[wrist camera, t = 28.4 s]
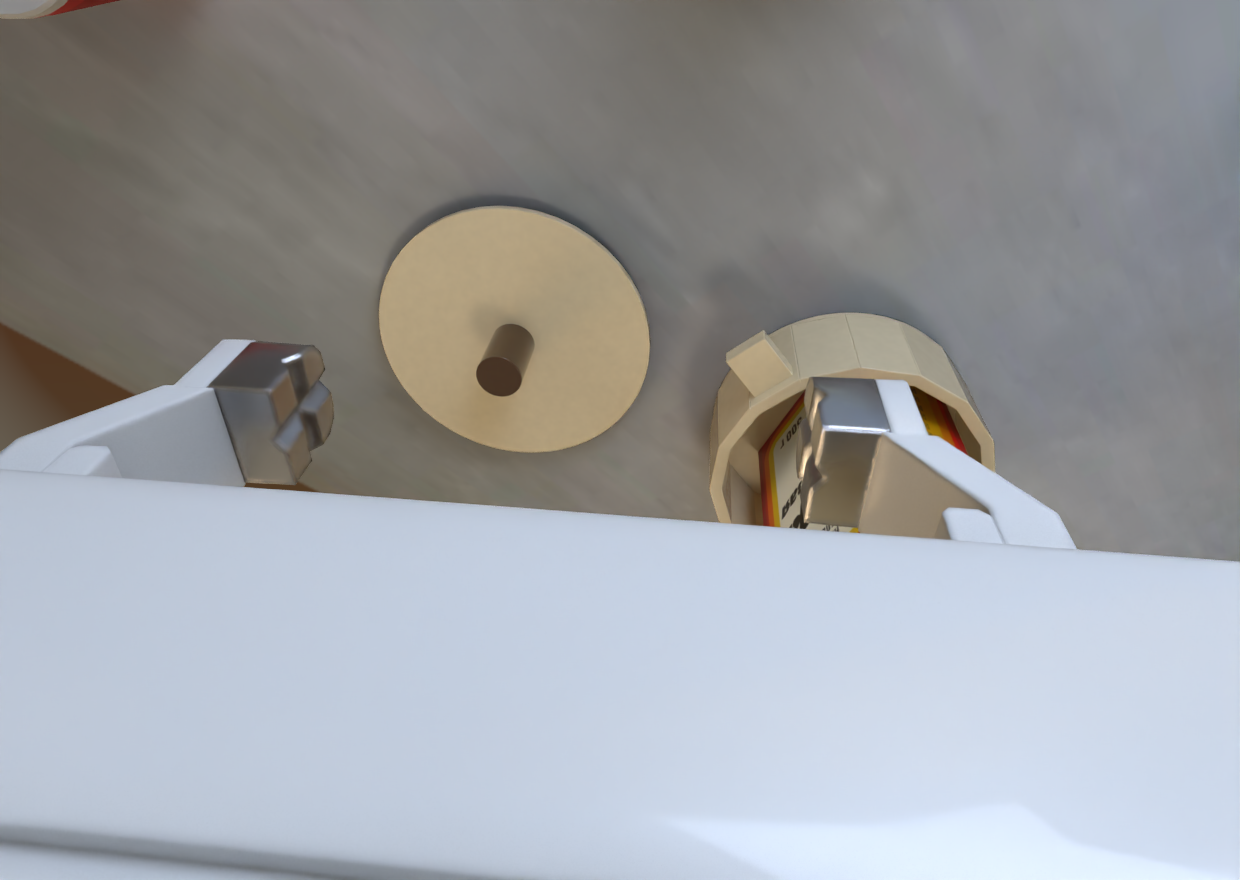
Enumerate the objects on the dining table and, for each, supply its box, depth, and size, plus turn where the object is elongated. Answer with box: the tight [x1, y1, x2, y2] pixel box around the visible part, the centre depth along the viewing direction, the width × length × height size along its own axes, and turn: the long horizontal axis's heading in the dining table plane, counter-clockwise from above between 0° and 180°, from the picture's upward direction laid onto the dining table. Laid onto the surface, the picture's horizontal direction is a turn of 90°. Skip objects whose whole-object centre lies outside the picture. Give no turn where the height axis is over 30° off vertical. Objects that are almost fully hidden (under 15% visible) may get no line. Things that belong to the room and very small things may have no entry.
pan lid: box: [379, 206, 650, 452], centre depth 46 cm, size 16×16×5 cm
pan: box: [709, 312, 995, 526], centre depth 47 cm, size 15×21×6 cm
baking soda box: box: [758, 386, 968, 533], centre depth 42 cm, size 10×6×16 cm
